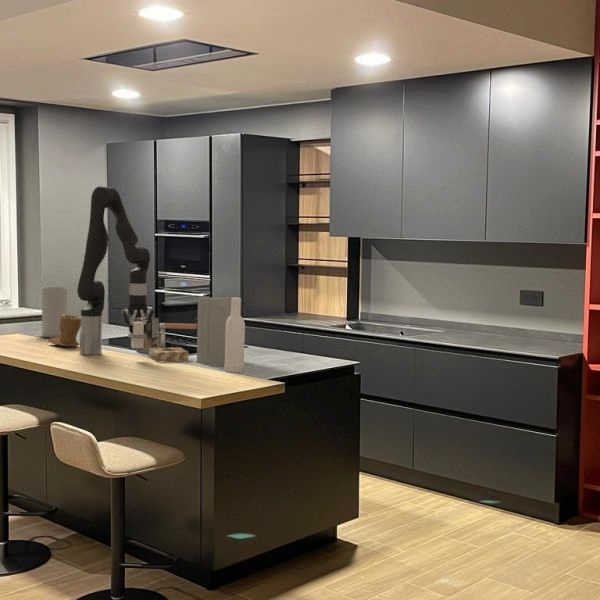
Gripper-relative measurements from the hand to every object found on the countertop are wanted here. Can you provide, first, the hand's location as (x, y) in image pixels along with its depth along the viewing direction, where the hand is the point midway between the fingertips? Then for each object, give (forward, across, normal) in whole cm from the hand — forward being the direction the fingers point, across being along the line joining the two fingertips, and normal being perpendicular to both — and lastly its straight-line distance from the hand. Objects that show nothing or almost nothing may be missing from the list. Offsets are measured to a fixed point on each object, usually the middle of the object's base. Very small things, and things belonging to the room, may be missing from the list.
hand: (137, 333), depth 370 cm
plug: (+6, 0, 0) cm, 6 cm away
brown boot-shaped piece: (+12, -23, +49) cm, 56 cm away
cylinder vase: (+11, -24, +86) cm, 90 cm away
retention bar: (-1, +20, +9) cm, 22 cm away
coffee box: (+12, +10, +22) cm, 27 cm away
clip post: (+12, +14, +11) cm, 21 cm away
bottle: (+12, +32, -37) cm, 50 cm away
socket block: (+12, +14, 0) cm, 18 cm away
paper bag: (+12, +34, -17) cm, 40 cm away
